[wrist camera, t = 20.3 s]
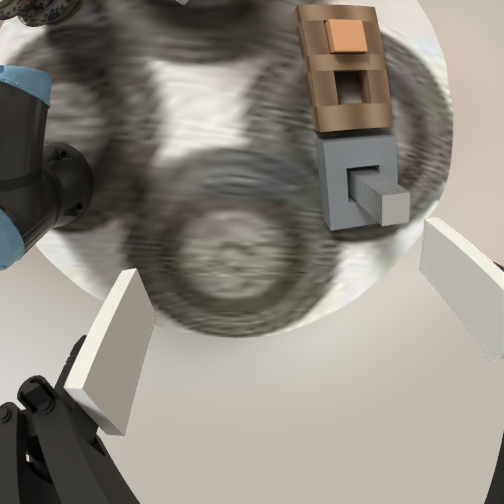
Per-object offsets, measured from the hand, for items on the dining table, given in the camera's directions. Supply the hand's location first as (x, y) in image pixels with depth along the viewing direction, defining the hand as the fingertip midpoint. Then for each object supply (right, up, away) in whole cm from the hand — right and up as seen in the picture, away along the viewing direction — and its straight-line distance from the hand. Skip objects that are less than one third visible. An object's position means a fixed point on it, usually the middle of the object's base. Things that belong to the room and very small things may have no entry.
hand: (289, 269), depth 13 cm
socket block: (+12, +30, +26) cm, 42 cm away
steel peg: (+15, +14, +35) cm, 41 cm away
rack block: (+15, +14, +35) cm, 41 cm away
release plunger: (+12, +33, +24) cm, 42 cm away
